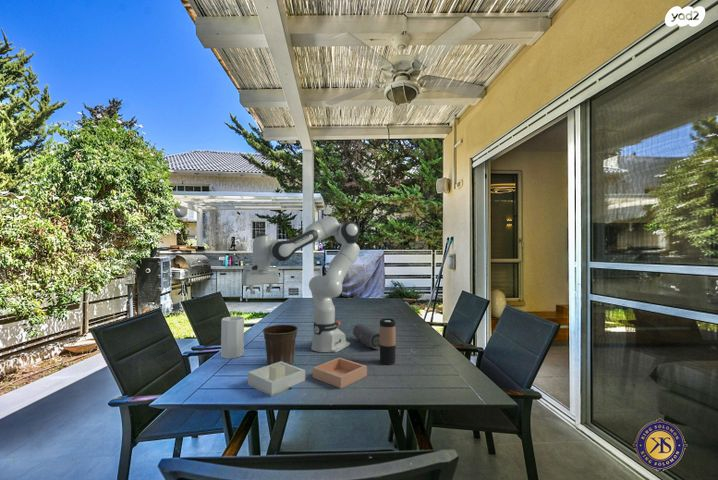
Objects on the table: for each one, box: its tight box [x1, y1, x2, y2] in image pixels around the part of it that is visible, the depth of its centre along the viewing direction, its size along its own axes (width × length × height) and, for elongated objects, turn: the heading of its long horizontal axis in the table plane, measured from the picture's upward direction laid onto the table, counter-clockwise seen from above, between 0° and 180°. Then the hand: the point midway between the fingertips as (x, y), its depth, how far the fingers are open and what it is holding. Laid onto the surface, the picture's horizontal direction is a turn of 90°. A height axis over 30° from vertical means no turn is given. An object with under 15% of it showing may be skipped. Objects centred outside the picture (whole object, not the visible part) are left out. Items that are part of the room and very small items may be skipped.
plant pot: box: [262, 324, 299, 366], centre depth 153 cm, size 16×16×16 cm
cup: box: [220, 315, 245, 360], centre depth 163 cm, size 11×11×18 cm
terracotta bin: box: [312, 357, 368, 389], centre depth 135 cm, size 16×16×5 cm
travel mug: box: [379, 318, 397, 366], centre depth 154 cm, size 8×8×20 cm
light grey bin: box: [247, 361, 306, 397], centre depth 129 cm, size 16×16×5 cm
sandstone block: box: [269, 363, 285, 381], centre depth 130 cm, size 4×4×6 cm
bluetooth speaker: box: [352, 323, 380, 349], centre depth 181 cm, size 23×9×10 cm, turn 25°
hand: (260, 293), depth 165 cm, fingers open, 8 cm apart
